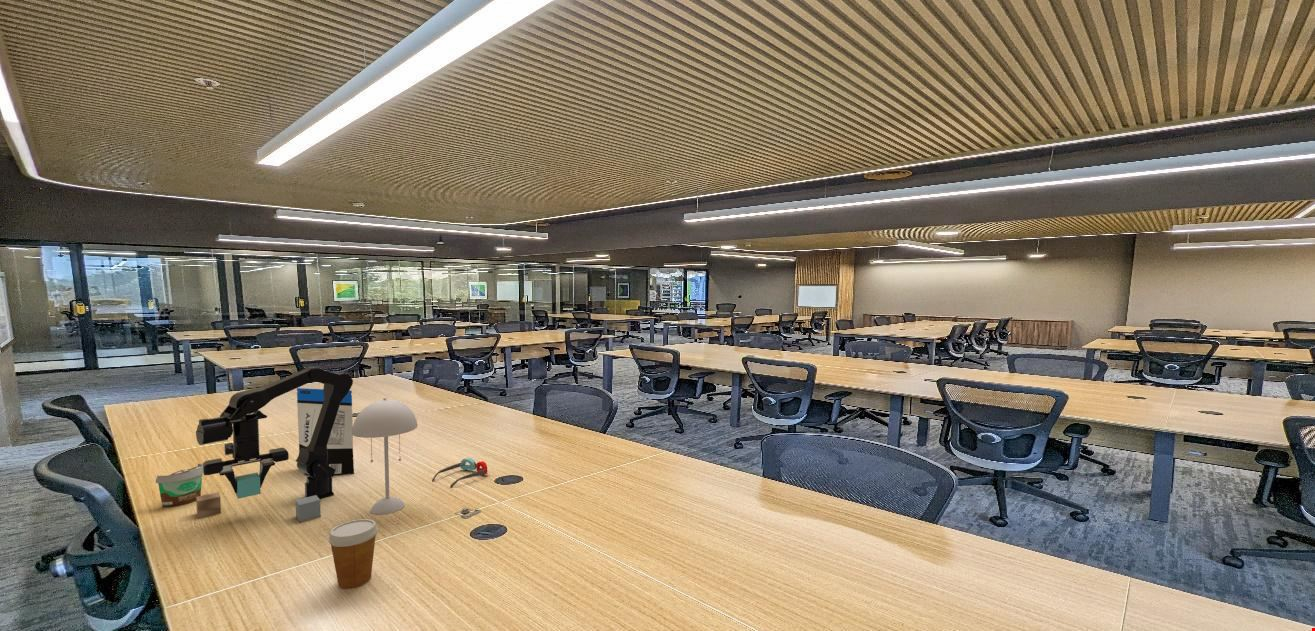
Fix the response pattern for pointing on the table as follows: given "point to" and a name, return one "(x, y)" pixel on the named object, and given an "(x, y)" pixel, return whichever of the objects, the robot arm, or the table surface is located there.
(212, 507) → the walnut block
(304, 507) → the slate block
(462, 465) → the novelty glasses
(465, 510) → the small grey metal mechanism
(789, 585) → the table surface
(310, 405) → the protein powder
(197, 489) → the food container
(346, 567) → the disposable coffee cup
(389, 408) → the lamp
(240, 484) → the teal block
